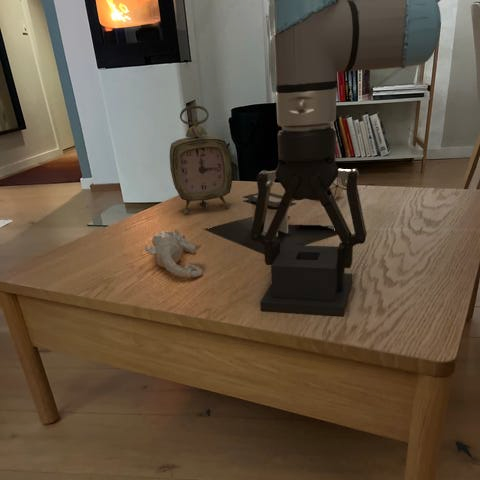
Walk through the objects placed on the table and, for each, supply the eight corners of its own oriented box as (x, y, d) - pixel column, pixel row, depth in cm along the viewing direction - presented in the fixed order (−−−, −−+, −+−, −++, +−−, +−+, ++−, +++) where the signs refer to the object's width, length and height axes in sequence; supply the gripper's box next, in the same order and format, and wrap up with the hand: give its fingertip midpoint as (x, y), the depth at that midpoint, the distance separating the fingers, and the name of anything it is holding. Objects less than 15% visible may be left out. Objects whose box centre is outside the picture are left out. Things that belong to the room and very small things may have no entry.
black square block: (341, 276, 75) (342, 246, 72) (334, 301, 67) (334, 268, 65) (285, 274, 77) (284, 244, 75) (272, 297, 70) (270, 265, 67)
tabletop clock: (179, 217, 119) (164, 109, 108) (175, 209, 127) (160, 107, 116) (235, 209, 122) (226, 103, 110) (228, 202, 130) (218, 101, 118)
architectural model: (272, 211, 118) (270, 170, 113) (344, 232, 99) (345, 184, 94) (203, 229, 109) (198, 185, 104) (268, 255, 90) (265, 204, 85)
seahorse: (228, 265, 84) (185, 224, 98) (169, 259, 78) (132, 217, 92) (220, 291, 86) (179, 247, 101) (161, 287, 80) (127, 241, 94)
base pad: (352, 282, 76) (353, 249, 74) (343, 316, 66) (344, 280, 64) (279, 278, 80) (277, 247, 77) (260, 311, 70) (258, 276, 67)
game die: (320, 215, 124) (308, 181, 125) (352, 202, 122) (339, 167, 123) (315, 207, 116) (301, 170, 117) (349, 192, 113) (335, 155, 114)
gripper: (218, 134, 62) (232, 291, 72) (393, 126, 55) (381, 300, 66) (235, 127, 68) (246, 273, 78) (394, 119, 62) (383, 279, 72)
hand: (308, 285), depth 72 cm, fingers closed on black square block, 9 cm apart
